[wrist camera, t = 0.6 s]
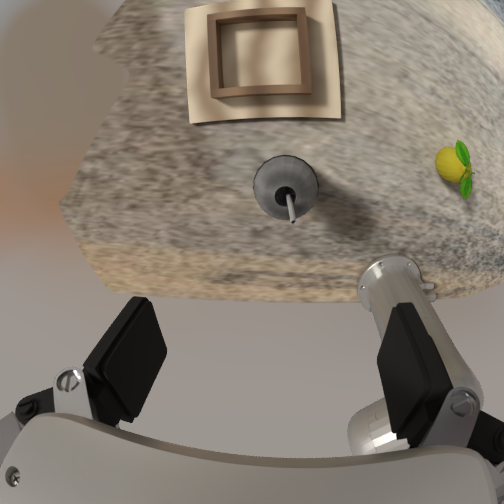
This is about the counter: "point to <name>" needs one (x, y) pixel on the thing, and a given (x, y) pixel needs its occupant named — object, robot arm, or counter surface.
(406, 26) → the counter surface
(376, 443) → the robot arm
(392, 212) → the counter surface
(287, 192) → the beverage cup
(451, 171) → the lemon
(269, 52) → the cup holder
